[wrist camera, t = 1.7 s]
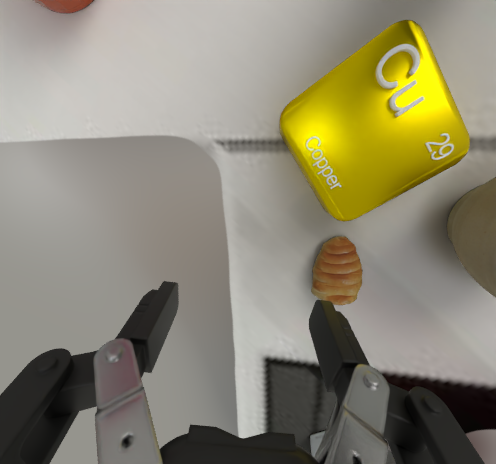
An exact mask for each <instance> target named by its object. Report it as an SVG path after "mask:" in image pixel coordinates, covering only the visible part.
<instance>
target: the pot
mask: <svg viewBox="0 0 496 464" xmlns="http://www.w3.org/2000/svg"><path fill="white" fill-rule="evenodd" d="M33 1H35V2H36V3H39V4H40V5H42V6H43V7H45V8H47V9H49V10H52V11H55V12H59V13H73V12H76V11H79V10H81V9H83V8H85V7H86V6H88V5H89V4H90V3H91V2H92V1H93V0H33Z"/></svg>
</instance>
